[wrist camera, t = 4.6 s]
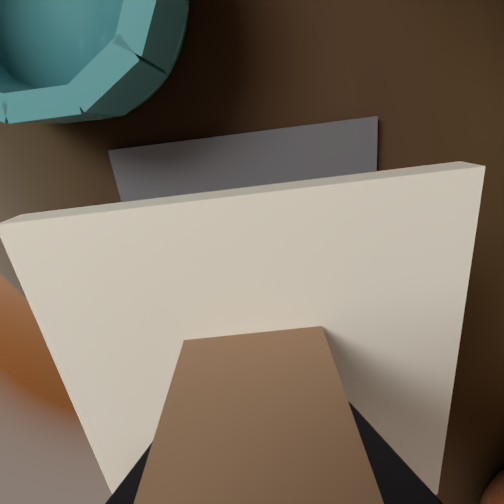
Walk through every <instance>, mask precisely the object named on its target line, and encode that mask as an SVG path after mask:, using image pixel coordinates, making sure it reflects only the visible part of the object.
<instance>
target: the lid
mask: <svg viewBox="0 0 504 504" xmlns="http://www.w3.org/2000/svg"><path fill="white" fill-rule="evenodd" d="M484 173H485V166H482V165H477V164H472V163H466V162H461V161H459V162H450V163H442V164H434V165H426V166H417V167H409V168H401V169H393V170H384V171H376V172H368V173H360V174H351V175H343V176H335V177H326V178H318V179H310V180H302V181H293V182H285V183H277V184H269V185H260V186H252V187H244V188H235V189H227V190H219V191H211V192H202V193H194V194H186V195H178V196H169V197H161V198H153V199H145V200H136V201H128V202H120V203H111V204H103V205H95V206H87V207H78V208H70V209H62V210H54V211H45V212H37V213H29V214H21V215H19V216H16V217H14V218H11V219H9V220H6V221H4V222H1V223H0V238H1V240H2V242H3V245H4V247H5V249H6V251H7V254H8V256H9V258H10V261H11V263H12V265H13V268H14V270H15V272H16V274H17V277H18V279H19V281H20V284H21V286H22V288H23V291H24V293H25V295H26V298H27V300H28V302H29V304H30V307H31V309H32V311H33V314H34V316H35V318H36V321H37V323H38V325H39V327H40V330H41V332H42V334H43V337H44V339H45V341H46V344H47V346H48V348H49V350H50V353H51V355H52V357H53V360H54V362H55V364H56V366H57V369H58V371H59V373H60V376H61V378H62V380H63V383H64V385H65V387H66V390H67V392H68V394H69V397H70V399H71V401H72V403H73V406H74V408H75V410H76V413H77V415H78V417H79V420H80V422H81V424H82V426H83V428H84V431H85V433H86V436H87V438H88V440H89V442H90V445H91V447H92V449H93V452H94V454H95V456H96V459H97V461H98V463H99V466H100V468H101V470H102V472H103V475H104V477H105V479H106V482H107V484H108V486H109V489H110V491H111V493H112V494H113V493H114V492H115V490H116V489H117V488H118V486H119V485H120V484H121V482H122V481H123V480H124V478H125V477H126V476H127V474H128V473H129V472H130V470H131V469H132V468H133V466H134V465H135V464H136V463H137V461H138V460H139V459H140V457H141V456H142V455H143V453H144V452H145V451H146V449H147V448H148V447H149V445H150V444H151V443H152V445H151V449H150V452H149V455H148V458H147V462H146V465H145V468H144V471H143V475H142V478H141V481H140V484H139V488H138V491H137V494H136V497H135V501H134V504H384V503H383V500H382V497H381V494H380V491H379V488H378V485H377V483H376V480H375V477H374V474H373V471H372V468H371V465H370V463H369V460H368V457H367V454H366V451H365V448H364V445H363V443H362V440H361V437H360V434H359V431H358V428H357V425H356V423H355V420H354V417H353V414H352V411H351V408H350V405H349V403H348V401H349V402H350V403H351V404H352V405H353V406H354V407H355V408H356V409H357V410H358V411H359V412H360V413H361V415H362V416H363V417H364V418H365V419H366V420H367V421H368V422H369V423H370V424H371V425H372V427H373V428H374V429H375V430H376V431H377V432H378V433H379V434H380V435H381V436H382V438H383V439H384V440H385V441H386V442H387V443H388V444H389V445H390V446H391V447H392V448H393V450H394V451H395V452H396V453H397V454H398V455H399V456H400V457H401V458H402V459H403V460H404V462H405V463H406V464H407V465H408V466H409V467H410V468H411V469H412V470H413V471H414V472H415V474H416V475H417V476H418V477H419V478H420V479H421V480H422V481H423V482H424V483H425V485H426V486H427V487H428V488H429V489H430V490H431V491H432V492H433V493H434V494H435V495H437V494H438V488H439V481H440V474H441V467H442V460H443V453H444V447H445V440H446V433H447V426H448V419H449V412H450V406H451V399H452V392H453V385H454V378H455V371H456V365H457V358H458V351H459V344H460V337H461V330H462V323H463V317H464V310H465V303H466V296H467V289H468V282H469V276H470V269H471V262H472V255H473V248H474V241H475V235H476V228H477V221H478V214H479V207H480V200H481V193H482V187H483V180H484ZM152 441H153V442H152Z"/></svg>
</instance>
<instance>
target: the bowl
mask: <svg viewBox="0 0 504 504" xmlns="http://www.w3.org/2000/svg"><path fill="white" fill-rule="evenodd" d="M188 11H189V0H0V121H1V122H4V123H9V124H33V123H74V122H82V121H91V120H104V119H109V118H114V117H120V116H123V115H126V114H127V113H128V112H130V111H132V110H133V109H135V108H137V107H139V106H141V105H142V104H143V103H144V102H146V101H147V100H148V99H150V98H151V97H152V96H153V95H154V94H155V93H156V92H157V91H158V90H159V88H160V87H161V86H162V85H163V83H164V82H165V81H166V79H167V78H168V76H169V75H170V73H171V71H172V69H173V67H174V66H175V64H176V62H177V59H178V57H179V54H180V51H181V48H182V46H183V42H184V37H185V33H186V29H187V20H188Z"/></svg>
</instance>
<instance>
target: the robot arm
mask: <svg viewBox="0 0 504 504" xmlns="http://www.w3.org/2000/svg"><path fill="white" fill-rule="evenodd" d="M348 403H349V405H350V408H351V411H352V414H353V417H354V420H355V423H356V425H357V428H358V431H359V434H360V437H361V440H362V443H363V445H364V448H365V451H366V454H367V457H368V460H369V463H370V465H371V468H372V471H373V474H374V477H375V480H376V483H377V485H378V488H379V491H380V494H381V497H382V500H383V503H384V504H443V503H442V502H441V501H440V500H439V499H438V498H437V497H436V495H435V494H434V493H433V492H432V491H431V490H430V489H429V488H428V487H427V486H426V485H425V483H424V482H423V481H422V480H421V479H420V478H419V477H418V476H417V475H416V474H415V472H414V471H413V470H412V469H411V468H410V467H409V466H408V465H407V464H406V463H405V462H404V460H403V459H402V458H401V457H400V456H399V455H398V454H397V453H396V452H395V451H394V450H393V448H392V447H391V446H390V445H389V444H388V443H387V442H386V441H385V440H384V439H383V438H382V436H381V435H380V434H379V433H378V432H377V431H376V430H375V429H374V428H373V427H372V425H371V424H370V423H369V422H368V421H367V420H366V419H365V418H364V417H363V416H362V415H361V413H360V412H359V411H358V410H357V409H356V408H355V407H354V406H353V405H352V404H351V403H350V402H349V401H348ZM152 442H153V441H152ZM151 445H152V443H151V444H150V445H149V447H148V448H147V449H146V451H145V452H144V453H143V455H142V456H141V457H140V459H139V460H138V461H137V463H136V464H135V465H134V466H133V468H132V469H131V470H130V472H129V473H128V474H127V476H126V477H125V478H124V480H123V481H122V482H121V484H120V485H119V486H118V488H117V489H116V490H115V492H114V493H113V494H112V496H111V497H110V498H109V499H108V501H107V502H106V504H134V501H135V497H136V494H137V491H138V488H139V484H140V481H141V478H142V475H143V471H144V468H145V465H146V462H147V458H148V455H149V452H150V449H151Z"/></svg>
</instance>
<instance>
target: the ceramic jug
mask: <svg viewBox="0 0 504 504" xmlns="http://www.w3.org/2000/svg"><path fill="white" fill-rule="evenodd" d="M479 504H504V469H503V470H501V471H500V472H499V473H498V474H497V475H496V476H495V477H494V479H493V480H492V481H491V482H490V484H489V485H488V486H487V488H486V489H485V491H484V493H483V495H482V497H481V500H480V503H479Z"/></svg>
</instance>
